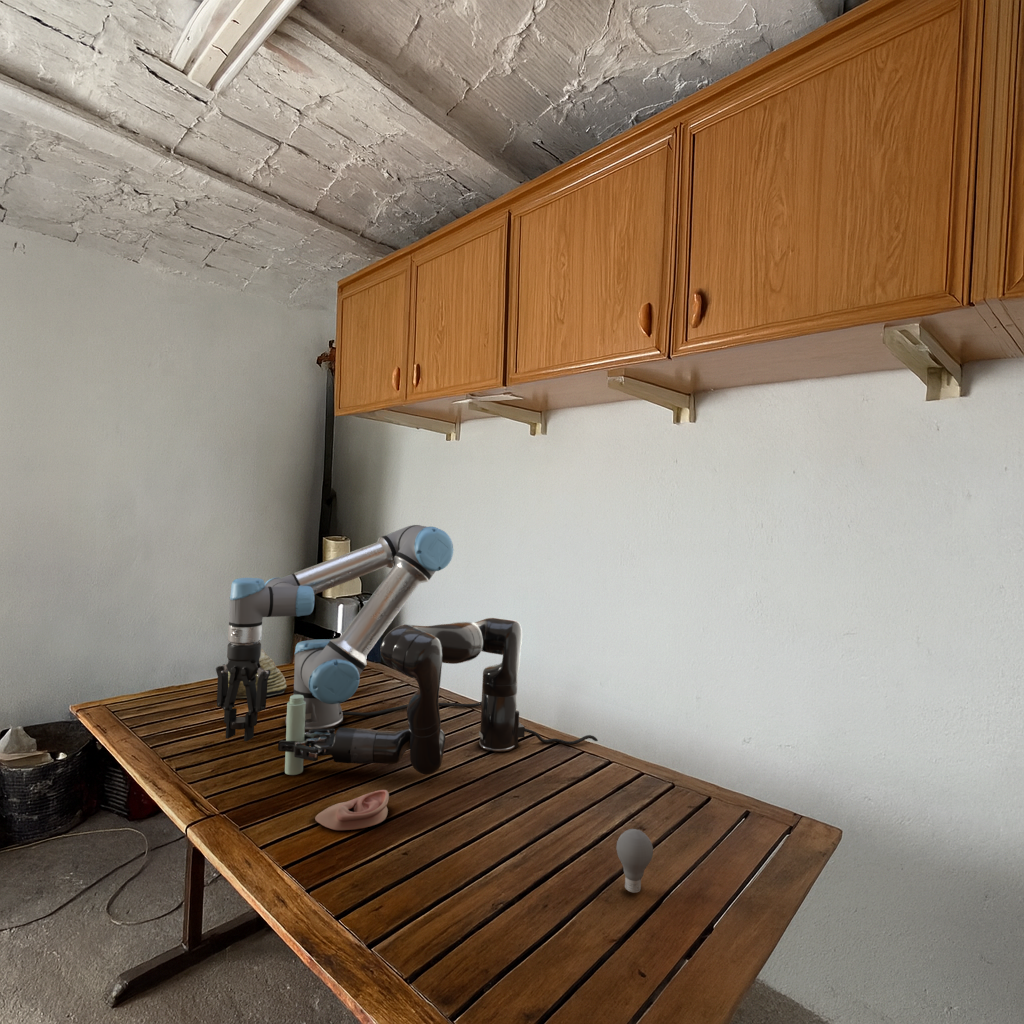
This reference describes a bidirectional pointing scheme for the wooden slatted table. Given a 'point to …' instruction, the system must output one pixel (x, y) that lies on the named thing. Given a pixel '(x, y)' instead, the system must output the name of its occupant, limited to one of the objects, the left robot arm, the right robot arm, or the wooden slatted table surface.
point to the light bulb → (634, 857)
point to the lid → (237, 723)
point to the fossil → (274, 681)
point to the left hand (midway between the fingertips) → (239, 737)
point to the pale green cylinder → (295, 732)
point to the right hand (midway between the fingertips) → (283, 741)
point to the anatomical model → (356, 812)
